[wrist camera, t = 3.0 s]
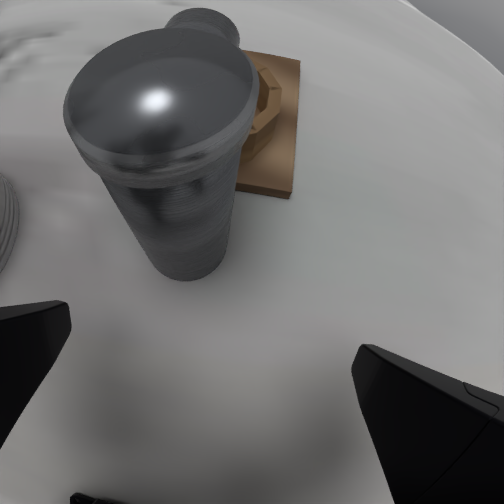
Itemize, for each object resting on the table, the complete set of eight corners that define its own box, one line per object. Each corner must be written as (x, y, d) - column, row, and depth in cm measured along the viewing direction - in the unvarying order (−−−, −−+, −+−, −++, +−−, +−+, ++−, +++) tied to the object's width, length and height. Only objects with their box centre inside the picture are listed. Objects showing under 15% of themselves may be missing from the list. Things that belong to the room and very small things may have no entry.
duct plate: (288, 199, 21) (303, 167, 17) (114, 173, 20) (99, 139, 16) (297, 68, 26) (308, 35, 22) (169, 51, 25) (166, 17, 21)
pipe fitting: (222, 291, 19) (245, 173, 6) (134, 276, 18) (28, 151, 6) (241, 176, 21) (275, 4, 9) (163, 165, 21) (134, -5, 9)
